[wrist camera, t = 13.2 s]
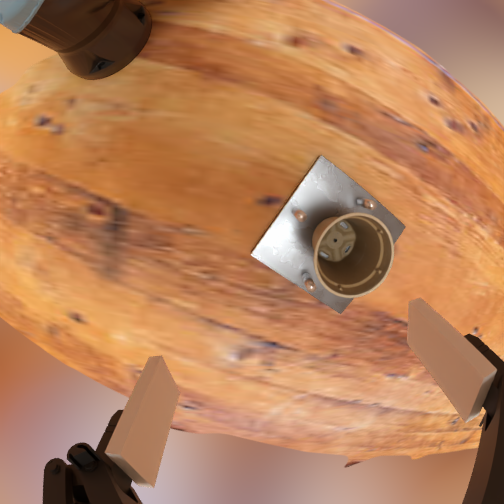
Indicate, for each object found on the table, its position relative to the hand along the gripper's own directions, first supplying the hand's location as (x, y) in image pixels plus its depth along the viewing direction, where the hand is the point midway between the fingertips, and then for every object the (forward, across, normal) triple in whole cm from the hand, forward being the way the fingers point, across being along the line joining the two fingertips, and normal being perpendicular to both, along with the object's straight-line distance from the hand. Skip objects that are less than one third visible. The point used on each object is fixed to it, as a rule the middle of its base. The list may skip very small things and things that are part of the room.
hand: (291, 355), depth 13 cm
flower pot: (+25, +9, -2) cm, 26 cm away
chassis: (+26, +9, -2) cm, 27 cm away
